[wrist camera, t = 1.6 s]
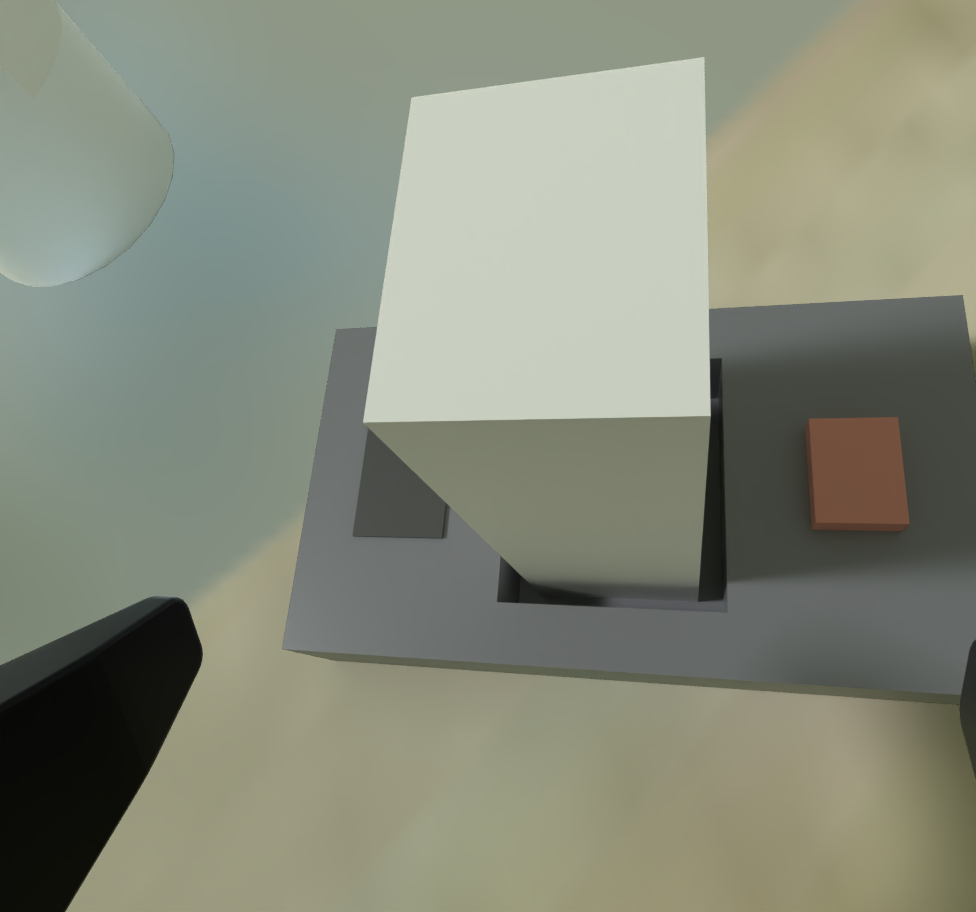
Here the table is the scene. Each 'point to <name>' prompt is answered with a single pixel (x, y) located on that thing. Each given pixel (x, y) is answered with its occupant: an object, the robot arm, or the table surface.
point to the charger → (557, 324)
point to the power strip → (726, 526)
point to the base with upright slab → (70, 151)
